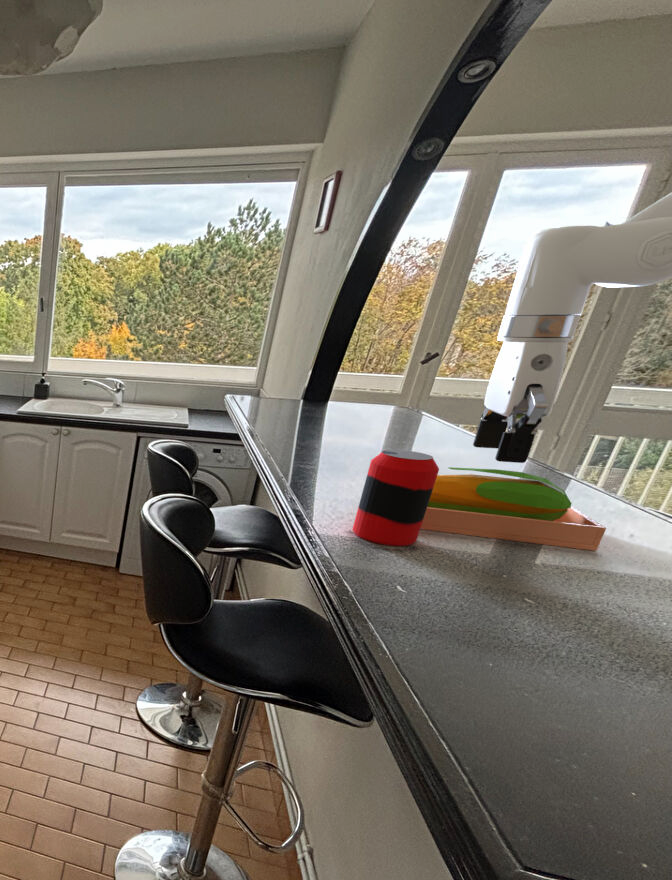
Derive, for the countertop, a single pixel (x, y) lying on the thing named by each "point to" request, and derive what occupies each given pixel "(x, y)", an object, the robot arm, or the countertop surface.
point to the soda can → (395, 497)
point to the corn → (499, 495)
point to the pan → (519, 527)
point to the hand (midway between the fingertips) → (497, 454)
